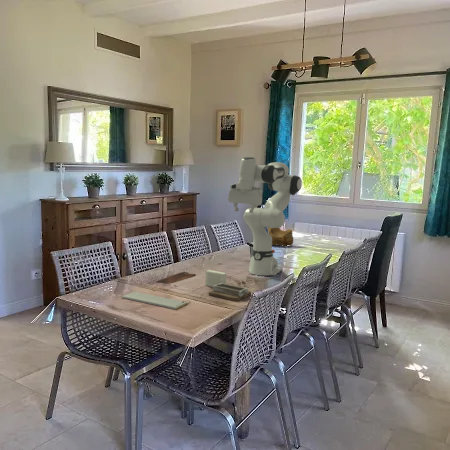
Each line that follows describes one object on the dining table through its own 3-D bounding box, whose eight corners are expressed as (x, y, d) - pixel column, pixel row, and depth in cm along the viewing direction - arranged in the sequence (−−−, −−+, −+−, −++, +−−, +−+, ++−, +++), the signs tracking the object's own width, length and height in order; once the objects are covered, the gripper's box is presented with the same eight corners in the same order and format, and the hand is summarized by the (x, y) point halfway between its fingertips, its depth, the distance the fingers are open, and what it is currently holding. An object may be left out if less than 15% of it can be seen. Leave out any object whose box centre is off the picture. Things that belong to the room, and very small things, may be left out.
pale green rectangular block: (208, 284, 239) (209, 269, 238) (226, 287, 233) (226, 273, 232) (205, 285, 237) (205, 270, 236) (222, 289, 231) (223, 274, 230)
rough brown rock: (259, 245, 360) (259, 227, 357) (270, 241, 372) (271, 224, 369) (283, 251, 345) (283, 232, 342) (294, 246, 358) (295, 228, 354)
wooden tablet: (167, 283, 236) (153, 277, 241) (166, 287, 236) (153, 281, 241) (197, 273, 257) (184, 269, 263) (197, 277, 258) (183, 272, 263)
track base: (224, 288, 231) (224, 281, 230) (250, 294, 222) (251, 286, 222) (208, 295, 219) (209, 287, 219) (236, 301, 211) (236, 293, 210)
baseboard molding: (138, 293, 221) (121, 299, 211) (138, 287, 221) (121, 293, 210) (190, 303, 207) (176, 311, 197) (190, 297, 207) (176, 304, 196)
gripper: (265, 188, 238) (263, 213, 239) (234, 186, 250) (231, 210, 250) (259, 187, 233) (256, 213, 234) (227, 185, 245) (225, 210, 245)
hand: (243, 212), depth 242 cm, fingers open, 8 cm apart
